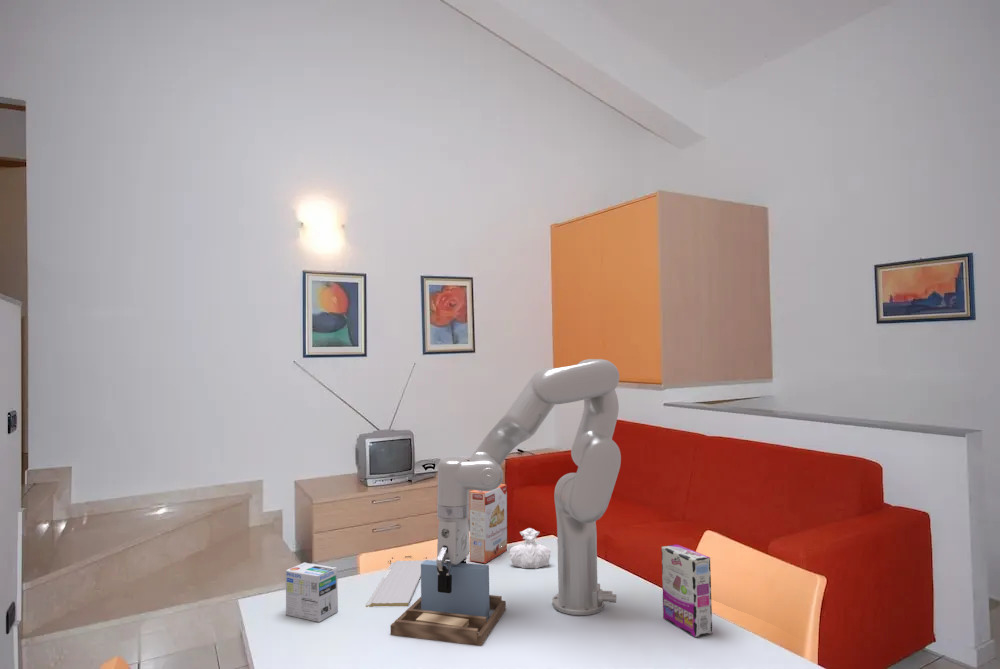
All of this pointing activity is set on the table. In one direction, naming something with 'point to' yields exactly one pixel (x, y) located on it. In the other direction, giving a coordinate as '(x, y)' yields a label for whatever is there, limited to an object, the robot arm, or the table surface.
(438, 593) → the blue rectangular block
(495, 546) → the cracker box
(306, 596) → the light bulb box
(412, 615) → the rack
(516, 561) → the tied white plastic bag
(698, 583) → the candy bar box
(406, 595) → the baseboard molding
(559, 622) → the table surface
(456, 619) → the tan rectangular block
